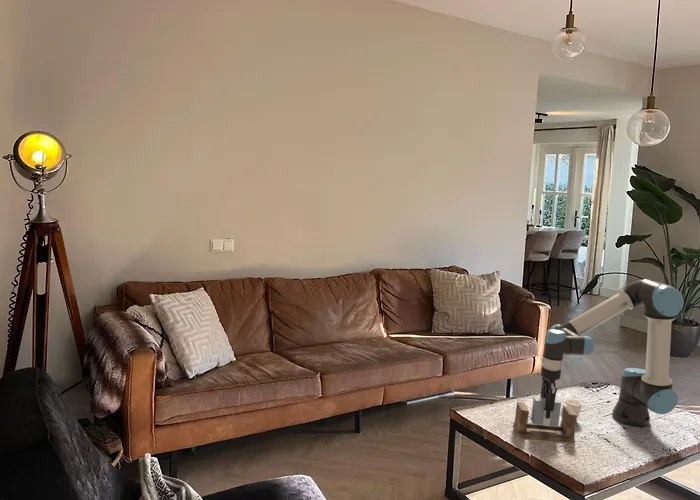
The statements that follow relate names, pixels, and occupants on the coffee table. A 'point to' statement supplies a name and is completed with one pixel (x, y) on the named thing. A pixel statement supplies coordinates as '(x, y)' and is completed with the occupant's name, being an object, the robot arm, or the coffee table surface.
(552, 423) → the gray rectangular block
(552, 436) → the wooden u-shaped holder
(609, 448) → the coffee table surface
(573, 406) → the cup
